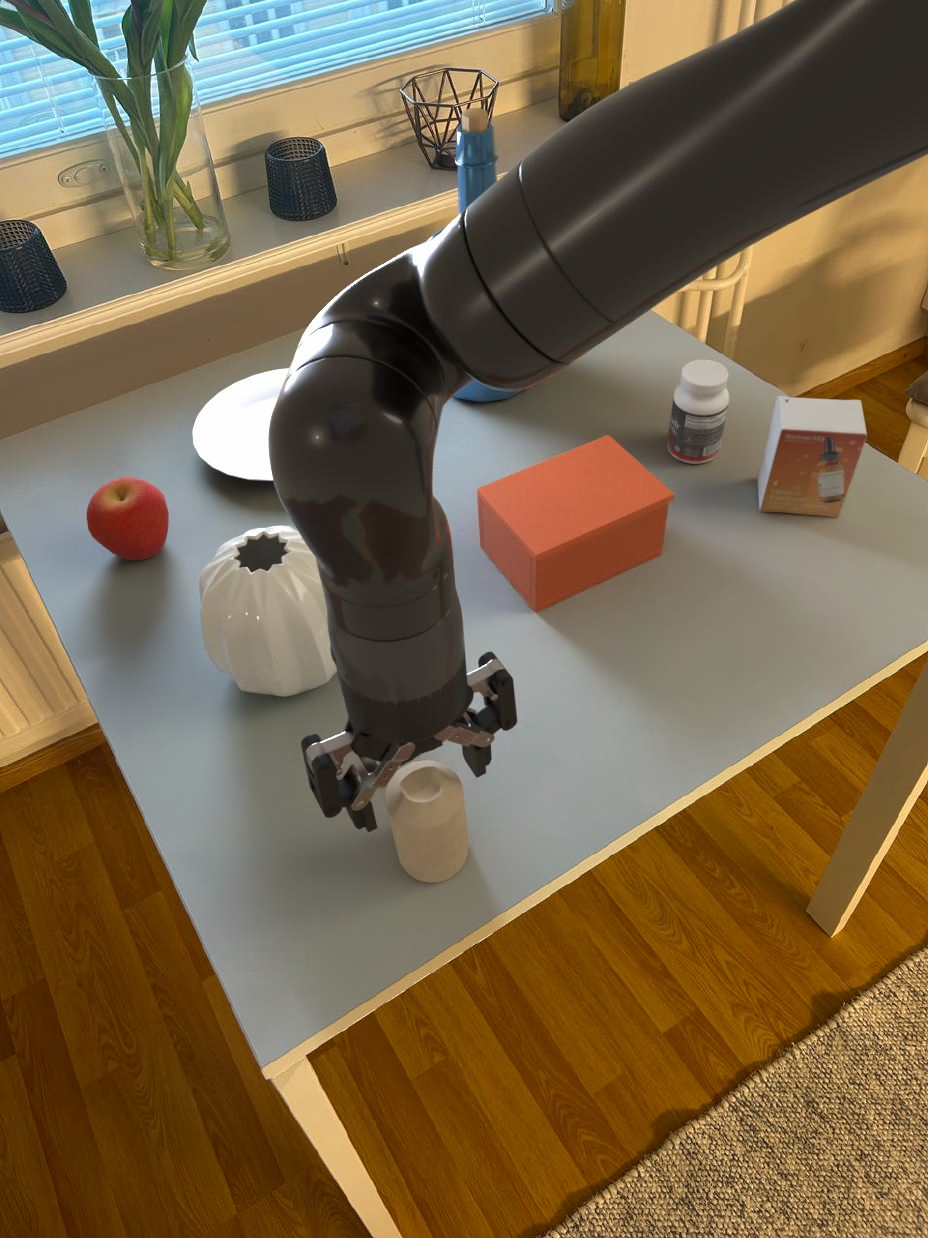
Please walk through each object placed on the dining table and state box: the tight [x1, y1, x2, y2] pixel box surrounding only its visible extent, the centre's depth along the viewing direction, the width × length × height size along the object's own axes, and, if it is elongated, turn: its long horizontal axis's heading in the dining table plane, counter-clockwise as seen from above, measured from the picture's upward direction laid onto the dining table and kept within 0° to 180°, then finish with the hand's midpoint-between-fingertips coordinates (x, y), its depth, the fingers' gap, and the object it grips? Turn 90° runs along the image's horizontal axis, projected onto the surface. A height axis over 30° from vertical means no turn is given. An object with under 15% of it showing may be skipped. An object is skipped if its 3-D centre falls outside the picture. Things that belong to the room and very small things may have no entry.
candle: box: [384, 759, 470, 884], centre depth 68 cm, size 6×6×10 cm
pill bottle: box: [666, 359, 730, 465], centre depth 99 cm, size 6×6×10 cm
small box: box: [757, 395, 868, 518], centre depth 92 cm, size 8×6×10 cm
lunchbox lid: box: [476, 434, 675, 561], centre depth 88 cm, size 15×11×1 cm
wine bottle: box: [428, 107, 526, 403], centre depth 103 cm, size 14×13×30 cm
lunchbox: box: [476, 495, 670, 613], centre depth 90 cm, size 15×11×7 cm
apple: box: [85, 476, 170, 561], centre depth 94 cm, size 8×8×8 cm
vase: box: [198, 525, 338, 698], centre depth 81 cm, size 14×14×13 cm
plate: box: [192, 367, 290, 482], centre depth 107 cm, size 21×21×2 cm
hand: (422, 793), depth 66 cm, fingers open, 8 cm apart
